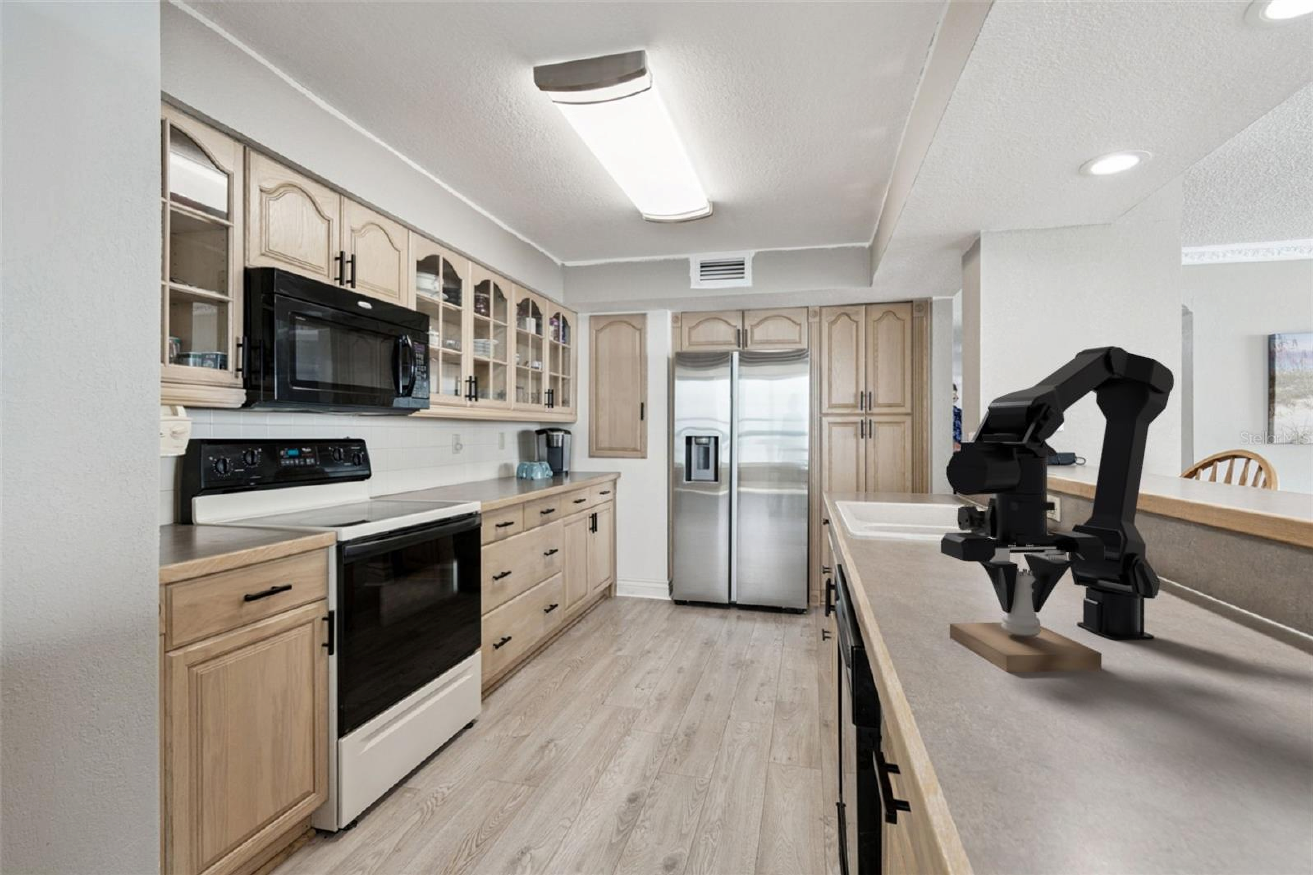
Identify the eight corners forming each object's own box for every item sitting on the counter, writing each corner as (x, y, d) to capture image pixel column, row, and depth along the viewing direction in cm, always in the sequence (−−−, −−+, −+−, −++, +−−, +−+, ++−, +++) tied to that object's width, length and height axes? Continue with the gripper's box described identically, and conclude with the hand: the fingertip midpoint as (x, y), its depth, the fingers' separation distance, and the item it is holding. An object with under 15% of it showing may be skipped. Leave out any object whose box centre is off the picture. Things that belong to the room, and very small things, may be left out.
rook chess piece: (1036, 628, 78) (1036, 567, 78) (1046, 639, 74) (1046, 575, 74) (997, 624, 80) (997, 565, 80) (1005, 635, 75) (1005, 572, 75)
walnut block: (1031, 639, 83) (1031, 621, 83) (1101, 673, 71) (1101, 653, 71) (949, 641, 82) (949, 623, 82) (1006, 676, 70) (1006, 655, 70)
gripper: (1045, 486, 85) (1045, 594, 85) (920, 487, 84) (920, 596, 84) (1108, 494, 74) (1108, 618, 74) (965, 495, 73) (965, 620, 73)
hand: (1020, 612), depth 77 cm, fingers closed on rook chess piece, 3 cm apart
